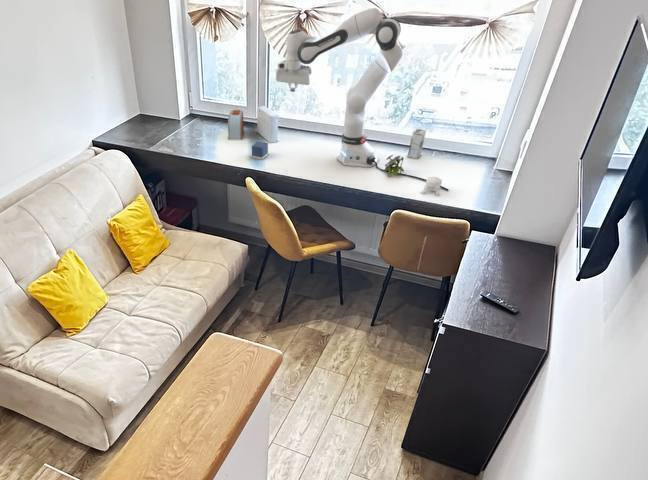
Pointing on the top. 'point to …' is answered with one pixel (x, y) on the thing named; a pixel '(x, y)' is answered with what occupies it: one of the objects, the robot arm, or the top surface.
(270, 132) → the skincare box
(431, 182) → the white lumpy piece
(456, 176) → the top surface
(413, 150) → the syrup box
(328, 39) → the robot arm
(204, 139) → the top surface
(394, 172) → the passion flower
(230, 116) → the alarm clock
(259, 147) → the dark blue cube
